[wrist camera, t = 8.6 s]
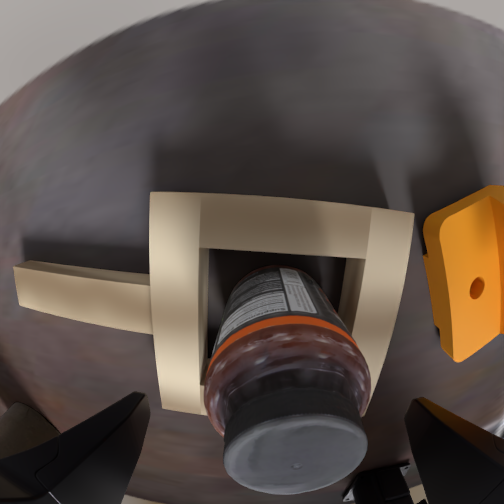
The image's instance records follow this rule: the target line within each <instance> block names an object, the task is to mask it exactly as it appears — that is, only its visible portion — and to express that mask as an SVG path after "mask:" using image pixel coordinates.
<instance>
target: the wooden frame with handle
mask: <svg viewBox="0 0 504 504" xmlns="http://www.w3.org/2000/svg"><path fill="white" fill-rule="evenodd" d="M413 223H414V213H409V212H403V211H397V210H391V209H384V208H377V207H369V206H361V205H353V204H344V203H335V202H326V201H316V200H305V199H294V198H282V197H269V196H255V195H239V194H220V193H197V192H150V216H149V263H150V274H141V273H132V272H122V271H113V270H104V269H95V268H87V267H78V266H70V265H62V264H55V263H47V262H40V261H32V260H29V261H26V262H24V263H21V264H18V265H16V266H13V268H14V276H15V282H16V289H17V294H18V300H19V305H20V306H24V307H27V308H31V309H34V310H38V311H42V312H45V313H49V314H53V315H57V316H61V317H65V318H69V319H74V320H78V321H83V322H87V323H92V324H97V325H102V326H107V327H112V328H117V329H123V330H129V331H134V332H141V333H147V334H153V336H154V346H155V356H156V365H157V373H158V381H159V388H160V395H161V401H162V408H163V409H169V410H174V411H180V412H187V413H194V414H201V415H207V413H206V409H205V406H204V384H205V378H206V375H207V371H208V368H209V363H210V360H211V358H208V272H209V248H215V249H230V250H244V251H259V252H274V253H288V254H303V255H317V256H332V257H346V265H345V272H344V279H343V286H342V292H341V298H340V304H339V309H338V316H339V317H340V319H341V320H342V322H343V323H344V325H345V326H346V328H347V330H348V331H349V333H350V334H351V336H352V338H353V339H354V340H355V342H356V344H357V346H358V348H359V350H360V351H361V353H362V354H363V356H364V358H365V360H366V363H367V365H368V368H369V371H370V377H371V394H370V399H369V402H368V405H369V403H370V400H371V397H372V395H373V392H374V389H375V387H376V384H377V381H378V378H379V375H380V372H381V369H382V366H383V363H384V360H385V357H386V353H387V350H388V347H389V343H390V340H391V336H392V332H393V329H394V325H395V321H396V317H397V313H398V309H399V304H400V300H401V295H402V291H403V286H404V281H405V276H406V270H407V265H408V259H409V253H410V246H411V239H412V231H413ZM368 405H367V407H366V410H367V408H368ZM366 410H365V411H364V413H363V415H362V416H361V417H363V416H364V415H365V413H366Z"/></svg>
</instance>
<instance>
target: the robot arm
mask: <svg viewBox="0 0 504 504" xmlns="http://www.w3.org/2000/svg"><path fill="white" fill-rule="evenodd" d="M149 419H150V407H149V402H148V397H147V395H146V394H145V393H141V392H137V391H135V392H132V393H131V394H129V395H127V396H126V397H124V398H122V399H121V400H119V401H117V402H116V403H114V404H112V405H111V406H109V407H107V408H106V409H104V410H102V411H101V412H99V413H97V414H95V415H94V416H92V417H90V418H88V419H87V420H85V421H83V422H81V423H80V424H78V425H76V426H74V427H72V428H70V429H69V430H67V431H65V432H63V433H61V434H59V435H58V436H56V437H54V438H52V439H50V440H48V441H46V442H44V443H42V444H40V445H38V446H35V447H33V448H30V449H28V450H25V451H22V452H19V453H17V454H14V455H11V456H8V457H5V458H1V459H0V504H121V502H122V499H123V497H124V494H125V492H126V489H127V487H128V484H129V481H130V479H131V476H132V474H133V471H134V469H135V466H136V464H137V461H138V459H139V456H140V453H141V450H142V446H143V442H144V438H145V434H146V430H147V427H148V423H149ZM404 421H405V425H406V429H407V433H408V437H409V442H410V446H411V450H412V454H413V457H414V460H415V463H416V466H417V469H418V472H419V475H420V478H421V481H422V484H423V487H424V490H425V494H426V497H427V500H428V504H504V439H502V438H500V437H498V436H496V435H494V434H492V433H490V432H488V431H486V430H484V429H482V428H480V427H478V426H476V425H474V424H472V423H470V422H469V421H467V420H465V419H463V418H461V417H459V416H457V415H455V414H453V413H452V412H450V411H448V410H446V409H444V408H442V407H440V406H439V405H437V404H435V403H433V402H431V401H430V400H428V399H426V398H424V397H420V398H415V399H413V400H412V401H411V403H410V405H409V407H408V410H407V412H406V414H405V417H404ZM410 466H411V465H410V463H405V464H401V465H397V466H393V467H388V468H384V469H379V470H374V471H368V472H363V473H360V474H358V475H357V477H356V478H355V480H354V482H353V483H352V485H351V486H350V488H349V489H348V491H347V492H346V494H345V495H344V497H343V501H351V500H354V501H355V504H414V503H413V500H412V498H411V495H410V491H409V488H408V486H407V483H406V481H405V479H404V475H405V473H406V472H407V471H408V469H409V468H410ZM417 504H427V502H426V500H425V499H423V500H421V501H420V502H419V503H417Z"/></svg>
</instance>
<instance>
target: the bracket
mask: <svg viewBox="0 0 504 504" xmlns="http://www.w3.org/2000/svg"><path fill="white" fill-rule="evenodd" d="M423 235H424V239H425V244H426V248H427V254H425V255H423V259H424V264H425V269H426V274H427V279H428V285H429V291H430V297H431V303H432V310H433V318H434V325H436V326H437V327H438V328H439V329H440V341H441V348H442V349H443V350H444V351H445V352H446V353H447V354H448V355H449V356H450V357H451V358H452V359H453V360H454V361H455V362H461V361H463V360H465V359H466V358H468V357H469V356H471V355H472V354H473V353H475V352H476V351H478V350H479V349H480V348H482V347H483V346H484V345H486V344H487V343H488V342H489V341H491V340H492V339H493V338H495V337H496V336H497V335H498V334H500V333H501V334H504V186H498V185H488V186H487V187H485V188H483V189H481V190H479V191H477V192H475V193H473V194H471V195H469V196H467V197H465V198H463V199H461V200H459V201H457V202H455V203H453V204H451V205H449V206H447V207H445V208H443V209H441V210H439V211H436V212H434V213H432V214H430V215H429V216H428V217H427V218H426V220H425V222H424V226H423Z"/></svg>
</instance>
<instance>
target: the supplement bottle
mask: <svg viewBox="0 0 504 504" xmlns="http://www.w3.org/2000/svg"><path fill="white" fill-rule="evenodd" d="M370 394H371V377H370V371H369V368H368V365H367V363H366V360H365V358H364V356H363V354H362V353H361V351H360V350H359V348H358V346H357V344H356V342H355V340H354V339H353V338H352V336H351V334H350V333H349V331H348V330H347V328H346V326H345V325H344V323H343V322H342V320H341V319H340V317H339V316H338V314H337V312H336V311H335V310H334V308H333V306H332V305H331V303H330V301H329V300H328V298H327V297H326V295H325V293H324V292H323V290H322V289H321V288H320V286H319V285H318V284H317V283H316V282H315V281H314V280H313V279H312V278H311V277H310V276H309V275H308V274H306V273H305V272H303V271H301V270H299V269H297V268H294V267H290V266H284V265H271V266H265V267H262V268H259V269H256V270H254V271H252V272H250V273H249V274H247V275H246V276H245V277H243V278H242V279H241V280H240V281H239V282H238V283H237V285H236V286H235V287H234V288H233V290H232V292H231V294H230V297H229V299H228V301H227V304H226V308H225V311H224V314H223V318H222V321H221V325H220V328H219V331H218V335H217V339H216V342H215V345H214V349H213V353H212V356H211V360H210V363H209V368H208V371H207V375H206V378H205V384H204V406H205V409H206V413H207V415H208V417H209V420H210V422H211V423H212V425H213V426H214V428H215V429H216V431H217V432H219V433H220V434H221V436H222V437H224V442H225V445H224V453H223V464H224V466H225V469H226V471H227V473H228V474H229V475H230V476H231V477H232V478H233V479H234V480H235V481H237V482H238V483H239V484H241V485H243V486H246V487H248V488H249V489H253V490H256V491H260V492H266V493H270V494H298V493H302V492H308V491H312V490H317V489H320V488H323V487H326V486H328V485H331V484H333V483H335V482H337V481H339V480H341V479H343V478H344V477H346V476H347V475H348V474H350V473H351V472H352V471H353V470H354V469H355V468H356V467H357V466H358V465H359V464H360V462H361V461H362V460H363V458H364V456H365V454H366V451H367V446H368V442H367V436H366V433H365V431H364V428H363V424H362V421H361V416H362V415H363V413H364V411H365V410H366V407H367V405H368V402H369V399H370Z"/></svg>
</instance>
